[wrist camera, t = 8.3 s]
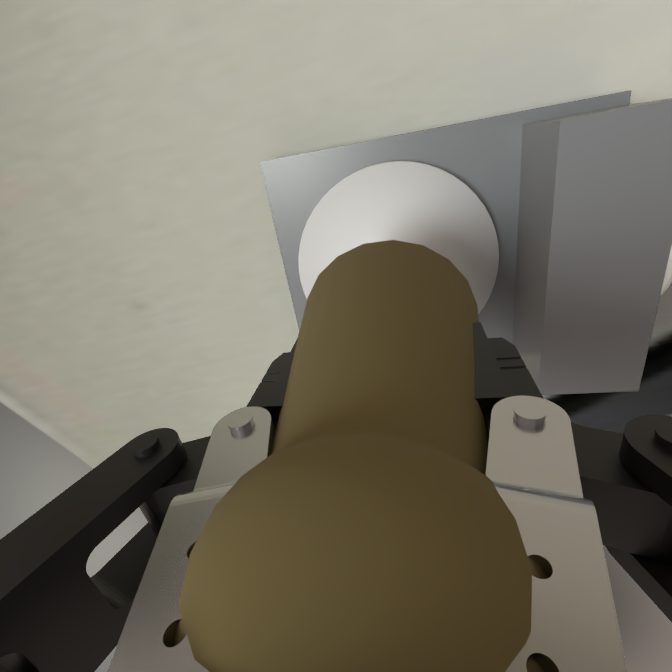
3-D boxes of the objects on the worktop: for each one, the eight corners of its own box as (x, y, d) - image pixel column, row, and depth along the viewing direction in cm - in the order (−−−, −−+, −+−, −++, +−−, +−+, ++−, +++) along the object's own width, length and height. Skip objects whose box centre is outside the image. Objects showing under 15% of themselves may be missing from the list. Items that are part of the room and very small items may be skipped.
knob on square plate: (616, 93, 17) (732, 69, 11) (584, 329, 22) (650, 399, 16) (274, 159, 20) (221, 168, 15) (316, 349, 26) (290, 412, 20)
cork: (491, 379, 14) (705, 959, 4) (335, 406, 15) (223, 861, 6) (460, 214, 11) (809, 681, 2) (279, 268, 13) (-80, 653, 3)
